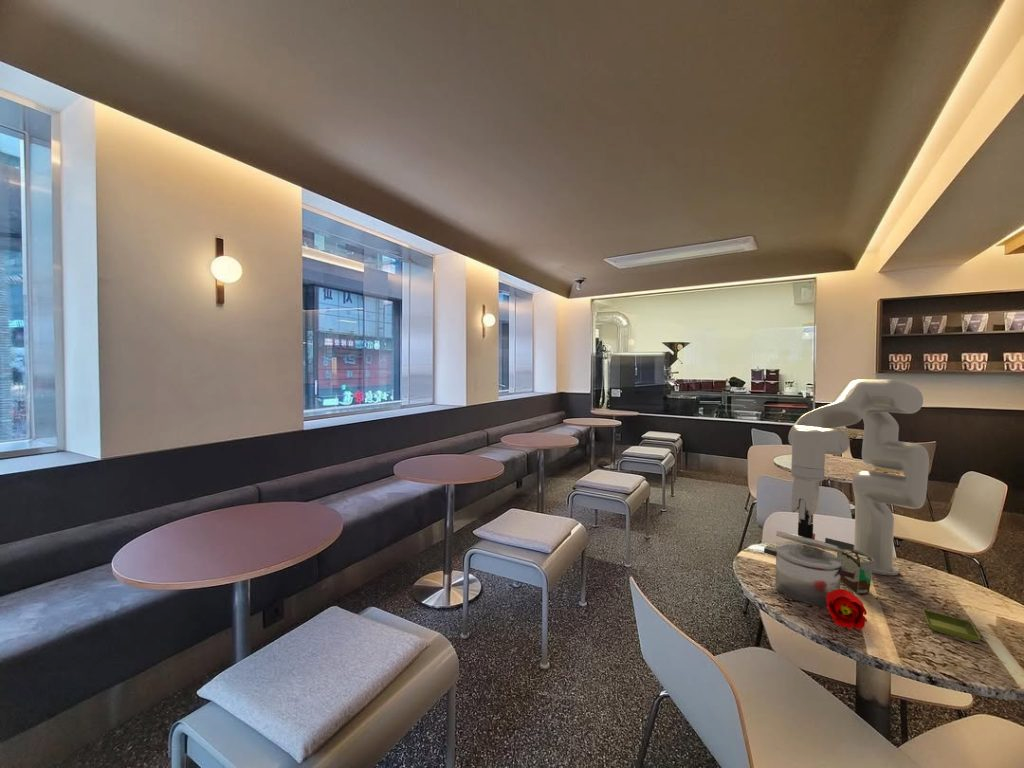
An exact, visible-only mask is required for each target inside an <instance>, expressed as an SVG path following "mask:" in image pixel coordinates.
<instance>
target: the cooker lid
mask: <svg viewBox="0 0 1024 768" xmlns="http://www.w3.org/2000/svg"><path fill="white" fill-rule="evenodd" d="M775 536H777V537H778V538H782V539H786V540H788V541H791V542H795V543H797V544H798V543H799V544H801V545H806V546H810V547H814V548H818V549H821V550H824V551H828V552H829V551H830V552H834V553H837V552H838V553H843V549H846V550H850V551H854V547H855V545H854V544H853V543H849V542H845V541H840V540H838V539H837V540H836V539H832V538H829V537H825V539H824V541H821V540H817V539H816V534H815V533H814V532H813V537H812V539H810V538H806V537H802V536H798V534H793V533H789V532H783V531H779V530H776V533H775Z"/></svg>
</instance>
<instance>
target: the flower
mask: <svg viewBox="0 0 1024 768" xmlns="http://www.w3.org/2000/svg"><path fill="white" fill-rule="evenodd" d="M826 602H827V607H826V609H827V611H828V613H829V615H830V617H832V621H833V622H834V624H835V625H837V626H838V627H841V628H842V627H844V628H846V629H848V630H852V629H853V628H855V629H857V630H863V629H864V628H865V626H866V622H867V617H866V616H867V614H868V613H867V609H866V608H865V606H864V604H863V602H862V601H861V599H860V598H858V597H857V596H856V594H855V593H854V594H853V593H852V591H849V590H847V589H844V588H840V589H837V590H833V591H831V592H829V593H828V594H827V595H826Z"/></svg>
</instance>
